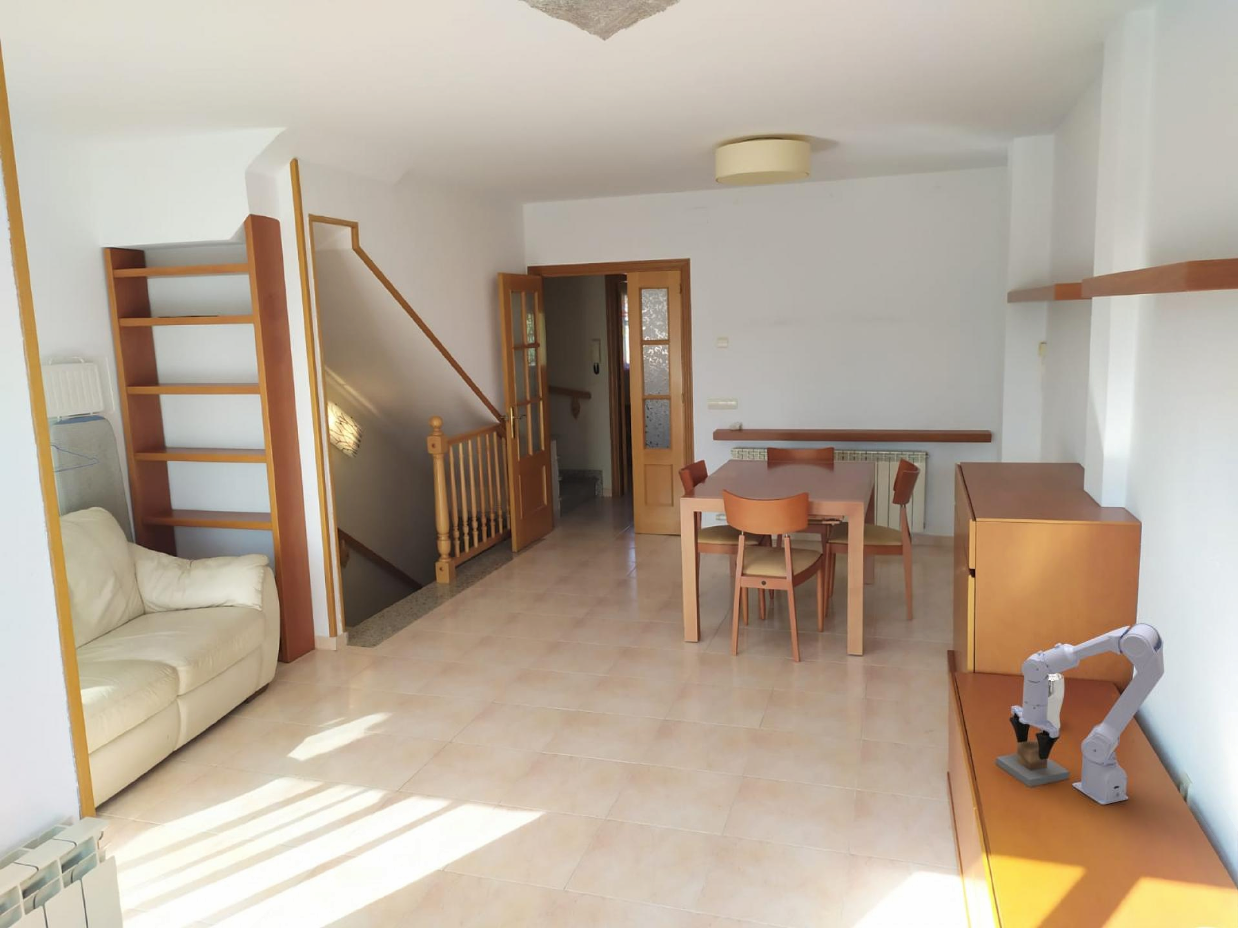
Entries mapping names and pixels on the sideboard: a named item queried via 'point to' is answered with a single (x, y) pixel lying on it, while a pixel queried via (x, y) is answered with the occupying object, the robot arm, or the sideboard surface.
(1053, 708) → the beer glass
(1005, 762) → the gray slab
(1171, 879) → the sideboard surface
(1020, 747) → the walnut block
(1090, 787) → the robot arm
